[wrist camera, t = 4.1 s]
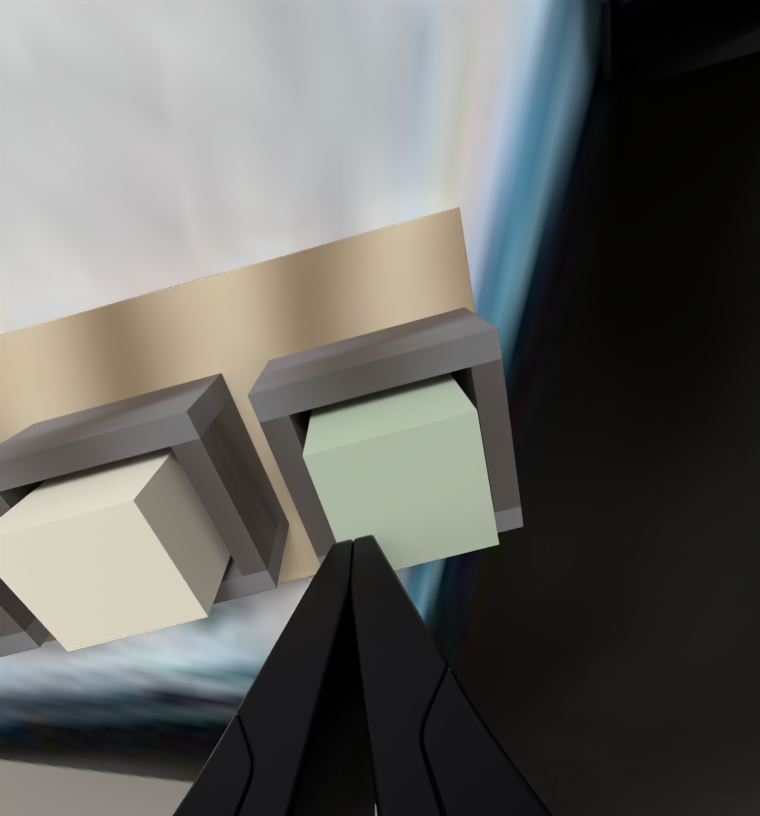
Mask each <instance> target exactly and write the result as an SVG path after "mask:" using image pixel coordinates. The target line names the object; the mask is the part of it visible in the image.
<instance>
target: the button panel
mask: <svg viewBox="0 0 760 816" xmlns="http://www.w3.org/2000/svg"><path fill="white" fill-rule="evenodd" d="M445 373H450V374H451V376H452V377H453V378H454V380H455V381H456V383H457V384H458V385H459V387H460V388H461V389H462V391H463V392H464V393H465V395H466V396H467V397H468V399H469V400H470V401H471V403H472V404H473V406H474V407H475V408H476V410H477V413H478V419H479V425H480V431H481V437H482V443H483V449H484V455H485V462H486V468H487V474H488V480H489V486H490V492H491V498H492V504H493V510H494V516H495V522H496V528H497V533H499V532H503V531H507V530H511V529H515V528H519V527H523V520H522V512H521V504H520V496H519V488H518V480H517V472H516V464H515V457H514V449H513V441H512V433H511V425H510V417H509V409H508V401H507V393H506V386H505V378H504V370H503V362H502V354H501V346H500V338H499V330H498V328H497V327H496V326H494V325H493V324H491V323H489V322H488V321H486V320H485V319H483V318H481V317H480V316H478V315H476V314H475V308H474V302H473V295H472V288H471V281H470V275H469V268H468V261H467V255H466V248H465V241H464V235H463V228H462V221H461V214H460V208H455V209H451V210H447V211H444V212H440V213H436V214H433V215H429V216H426V217H422V218H418V219H415V220H411V221H408V222H404V223H401V224H397V225H393V226H390V227H386V228H383V229H379V230H375V231H372V232H368V233H365V234H361V235H358V236H354V237H350V238H347V239H343V240H340V241H336V242H332V243H329V244H325V245H322V246H318V247H314V248H311V249H307V250H304V251H300V252H297V253H293V254H289V255H286V256H282V257H279V258H275V259H271V260H268V261H264V262H261V263H257V264H254V265H250V266H246V267H243V268H239V269H236V270H232V271H228V272H225V273H221V274H218V275H214V276H210V277H207V278H203V279H200V280H196V281H193V282H189V283H185V284H182V285H178V286H175V287H171V288H167V289H164V290H160V291H157V292H153V293H150V294H146V295H142V296H139V297H135V298H132V299H128V300H124V301H121V302H117V303H114V304H110V305H106V306H103V307H99V308H96V309H92V310H89V311H85V312H81V313H78V314H74V315H71V316H67V317H63V318H60V319H56V320H53V321H49V322H46V323H42V324H38V325H35V326H31V327H28V328H24V329H20V330H17V331H13V332H10V333H6V334H2V335H0V517H1V516H3V515H4V514H5V513H6V512H8V511H9V510H10V509H11V508H13V507H14V506H15V505H16V504H17V503H19V502H20V501H21V500H22V499H24V498H25V497H26V496H27V495H28V494H30V493H31V492H32V491H33V490H35V489H36V488H37V487H38V486H40V485H41V484H42V483H43V482H44V481H46V480H47V479H49V478H53V477H57V476H60V475H64V474H68V473H72V472H76V471H79V470H83V469H87V468H91V467H94V466H98V465H102V464H106V463H109V462H113V461H117V460H121V459H125V458H128V457H132V456H136V455H140V454H143V453H147V452H151V451H155V450H159V449H162V448H166V447H170V446H171V448H172V449H173V451H174V453H175V455H176V457H177V458H178V460H179V462H180V464H181V466H182V467H183V469H184V471H185V473H186V475H187V477H188V478H189V480H190V482H191V484H192V486H193V487H194V489H195V491H196V493H197V495H198V496H199V498H200V500H201V502H202V504H203V505H204V507H205V509H206V511H207V513H208V515H209V516H210V518H211V520H212V522H213V524H214V525H215V527H216V529H217V531H218V533H219V534H220V536H221V538H222V540H223V542H224V543H225V545H226V547H227V549H228V551H229V553H230V554H231V556H230V558H229V561H228V564H227V567H226V569H225V572H224V575H223V577H222V580H221V583H220V586H219V588H218V591H217V594H216V597H215V599H214V602H213V604H215V603H219V602H223V601H227V600H231V599H235V598H239V597H243V596H247V595H251V594H255V593H259V592H263V591H267V590H271V589H275V588H277V584H279V583H283V582H287V581H291V580H295V579H299V578H303V577H307V576H311V575H315V574H316V573H317V571H318V569H319V567H320V566H321V564H322V562H323V561H324V559H325V557H326V555H327V554H328V552H329V550H330V548H331V547H332V545H333V544H334V543H336V540H335V537H334V535H333V532H332V529H331V527H330V524H329V522H328V519H327V517H326V514H325V512H324V509H323V507H322V504H321V502H320V499H319V496H318V494H317V491H316V489H315V486H314V484H313V481H312V479H311V476H310V474H309V471H308V469H307V466H306V463H305V461H304V458H303V451H304V447H305V442H306V437H307V432H308V427H309V422H310V417H311V412H312V409H313V408H317V407H321V406H325V405H328V404H332V403H336V402H340V401H343V400H347V399H351V398H355V397H359V396H362V395H366V394H370V393H374V392H377V391H381V390H385V389H389V388H393V387H396V386H400V385H404V384H408V383H411V382H415V381H419V380H423V379H426V378H430V377H434V376H438V375H442V374H445ZM52 640H56V638H55V637H54V636H53V635H52V634H51V633H50V632H49V631H48V629H47V628H46V627H45V626H44V625H43V624H42V623H41V622H40V621H39V620H38V619H37V617H36V616H35V615H34V614H33V613H32V612H31V611H30V610H29V609H28V608H27V606H26V605H25V604H24V603H23V602H22V601H21V600H20V599H19V598H18V597H17V596H16V594H15V593H14V592H13V591H12V590H11V589H10V588H9V587H8V586H7V585H6V584H5V582H4V581H3V580H2V579H1V578H0V657H3V656H7V655H11V654H15V653H19V652H23V651H27V650H31V649H35V648H39V647H41V645H42V644H43V643H44V642H48V641H52Z"/></svg>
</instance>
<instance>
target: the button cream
mask: <svg viewBox="0 0 760 816" xmlns="http://www.w3.org/2000/svg"><path fill="white" fill-rule="evenodd" d="M230 556H231V554H230V553H229V551H228V549H227V547H226V545H225V543H224V542H223V540H222V538H221V536H220V534H219V533H218V531H217V529H216V527H215V525H214V524H213V522H212V520H211V518H210V516H209V515H208V513H207V511H206V509H205V507H204V505H203V504H202V502H201V500H200V498H199V496H198V495H197V493H196V491H195V489H194V487H193V486H192V484H191V482H190V480H189V478H188V477H187V475H186V473H185V471H184V469H183V467H182V466H181V464H180V462H179V460H178V458H177V457H176V455H175V453H174V451H173V449H172V448H171V446H170V447H166V448H162V449H159V450H155V451H151V452H147V453H143V454H140V455H136V456H132V457H128V458H125V459H121V460H117V461H113V462H109V463H106V464H102V465H98V466H94V467H91V468H87V469H83V470H79V471H76V472H72V473H68V474H64V475H60V476H57V477H53V478H49V479H47V480H46V481H44V482H43V483H42V484H41V485H40V486H38V487H37V488H36V489H35V490H33V491H32V492H31V493H30V494H28V495H27V496H26V497H25V498H24V499H22V500H21V501H20V502H19V503H17V504H16V505H15V506H14V507H13V508H11V509H10V510H9V511H8V512H6V513H5V514H4V515H3V516H1V517H0V578H1V579H2V580H3V581H4V582H5V584H6V585H7V586H8V587H9V588H10V589H11V590H12V591H13V592H14V593H15V594H16V596H17V597H18V598H19V599H20V600H21V601H22V602H23V603H24V604H25V605H26V606H27V608H28V609H29V610H30V611H31V612H32V613H33V614H34V615H35V616H36V617H37V619H38V620H39V621H40V622H41V623H42V624H43V625H44V626H45V627H46V628H47V629H48V631H49V632H50V633H51V634H52V635H53V636H54V637H55V638H56V639H57V640H58V641H59V643H60V644H61V645H62V646H63V647H64V648H65V649H66V650H67V651H68V652H69V651H73V650H77V649H81V648H85V647H89V646H93V645H97V644H101V643H105V642H109V641H113V640H117V639H121V638H125V637H129V636H133V635H137V634H141V633H145V632H149V631H153V630H158V629H162V628H166V627H170V626H174V625H178V624H182V623H186V622H190V621H194V620H198V619H202V618H206V617H208V616H209V613H210V610H211V608H212V605H213V602H214V599H215V597H216V594H217V591H218V588H219V586H220V583H221V580H222V577H223V575H224V572H225V569H226V567H227V564H228V561H229V558H230Z"/></svg>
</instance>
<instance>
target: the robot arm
mask: <svg viewBox="0 0 760 816" xmlns="http://www.w3.org/2000/svg"><path fill="white" fill-rule="evenodd" d="M601 14H602V78H603V84H604V86H605V87H606V89H607V90H608V91H610V92H612V93H621V92H624V91H628V90H631V89H635V88H638V87H642V86H645V85H649V84H652V83H656V82H659V81H663V80H666V79H670V78H673V77H677V76H680V75H684V74H687V73H691V72H694V71H698V70H701V69H705V68H708V67H712V66H715V65H719V64H722V63H726V62H730V61H733V60H737V59H740V58H744V57H747V56H751V55H754V54H758V53H760V0H601ZM622 60H625V61H626V62H627V63H628V66H629V71H628V75H627V76H626V77H624V76H623V75H622V74H621V72H620V64H621V61H622ZM237 713H238V715H235V716H233V718H232V720H231V722H230V723H229V725H228V727H227V728H226V730H225V732H224V734H223V735H222V737H221V739H220V741H219V742H218V744H217V746H216V747H215V749H214V751H213V752H212V754H211V756H210V757H209V759H208V761H207V762H206V764H205V766H204V767H203V769H202V771H201V772H200V774H199V775H198V777H197V779H196V780H195V782H194V784H193V785H192V787H191V788H190V790H189V791H188V793H187V795H186V796H185V798H184V799H183V801H182V802H181V804H180V805H179V807H178V808H177V810H176V812H175V813H174V814H173V816H375V798H376V807H377V814H378V816H553V815H552V814H551V813H550V811H549V810H548V809H547V807H546V806H545V805H544V803H543V802H542V801H541V799H540V798H539V797H538V795H537V794H536V793H535V791H534V790H533V789H532V787H531V786H530V785H529V783H528V782H527V781H526V779H525V778H524V777H523V776H522V774H521V773H520V772H519V770H518V769H517V768H516V766H515V765H514V764H513V762H512V761H511V759H510V758H509V757H508V755H507V754H506V752H505V751H504V750H503V748H502V747H501V745H500V744H499V743H498V741H497V740H496V738H495V737H494V736H493V734H492V733H491V731H490V730H489V728H488V727H487V726H486V724H485V723H484V721H483V720H482V718H481V716H480V715H479V713H478V712H477V710H476V708H475V707H474V705H473V704H472V702H471V700H470V699H469V697H468V696H467V694H466V692H465V691H464V689H463V687H462V686H461V684H460V682H459V681H458V679H457V677H456V675H455V674H454V672H453V670H451V669H450V666H449V664H448V662H447V660H446V659H445V657H444V655H443V654H442V652H441V650H440V648H439V647H438V645H437V643H436V642H435V640H434V638H433V636H432V635H431V633H430V631H429V630H428V628H427V626H426V624H425V623H424V621H423V619H422V618H421V616H420V614H419V612H418V611H417V609H416V607H415V606H414V604H413V602H412V600H411V599H410V597H409V595H408V594H407V592H406V590H405V588H404V587H403V585H402V583H401V582H400V580H399V578H398V576H397V575H396V573H395V571H394V570H393V568H392V566H391V564H390V563H389V561H388V559H387V558H386V556H385V554H384V552H383V551H382V549H381V547H380V546H379V544H378V542H377V540H376V539H375V537H374V536H373V535H366V536H362V537H358V538H355V540H354V541H353V540H351V539H349V540H345V541H340V542H336V543H334V544H333V545H332V547H331V548H330V550H329V552H328V554H327V555H326V557H325V559H324V561H323V562H322V564H321V566H320V567H319V569H318V571H317V573H316V574H315V576H314V578H313V580H312V581H311V583H310V585H309V587H308V588H307V590H306V592H305V594H304V595H303V597H302V599H301V600H300V602H299V604H298V606H297V607H296V609H295V611H294V613H293V614H292V616H291V618H290V620H289V621H288V623H287V625H286V626H285V628H284V630H283V632H282V633H281V635H280V637H279V639H278V640H277V642H276V644H275V646H274V647H273V649H272V651H271V653H270V654H269V656H268V658H267V659H266V661H265V663H264V665H263V666H262V668H261V670H260V672H259V673H258V675H257V677H256V679H255V680H254V682H253V684H252V685H251V687H250V689H249V691H248V692H247V694H246V696H245V698H244V699H243V701H242V703H241V705H240V706H239V708H238V710H237Z"/></svg>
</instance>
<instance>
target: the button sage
mask: <svg viewBox="0 0 760 816" xmlns="http://www.w3.org/2000/svg"><path fill="white" fill-rule="evenodd" d="M303 458H304V461H305V463H306V466H307V469H308V471H309V474H310V476H311V479H312V481H313V484H314V486H315V489H316V491H317V494H318V496H319V499H320V502H321V504H322V507H323V509H324V512H325V514H326V517H327V519H328V522H329V524H330V527H331V529H332V532H333V535H334V537H335V540H336V542H340V541H345V540H349V539H351V540H353V541H354V540H355V538H358V537H362V536H366V535H373V536H374V537H375V539H376V540H377V542H378V544H379V546H380V547H381V549H382V551H383V552H384V554H385V556H386V558H387V559H388V561H389V563H390V564H391V566H392V568H393V570H398V569H402V568H406V567H410V566H414V565H418V564H422V563H426V562H430V561H434V560H438V559H442V558H446V557H450V556H454V555H458V554H462V553H466V552H470V551H474V550H478V549H482V548H487V547H491V546H495V545H499V541H498V535H497V528H496V522H495V516H494V510H493V504H492V498H491V492H490V486H489V480H488V474H487V468H486V462H485V455H484V449H483V443H482V437H481V431H480V425H479V419H478V413H477V410H476V408H475V407H474V406H473V404H472V403H471V401H470V400H469V399H468V397H467V396H466V395H465V393H464V392H463V391H462V389H461V388H460V387H459V385H458V384H457V383H456V381H455V380H454V378H453V377H452V376H451V374H450V373H445V374H442V375H438V376H434V377H430V378H426V379H423V380H419V381H415V382H411V383H408V384H404V385H400V386H396V387H393V388H389V389H385V390H381V391H377V392H374V393H370V394H366V395H362V396H359V397H355V398H351V399H347V400H343V401H340V402H336V403H332V404H328V405H325V406H321V407H317V408H313V409H312V412H311V417H310V422H309V427H308V432H307V437H306V442H305V447H304V451H303Z"/></svg>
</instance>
